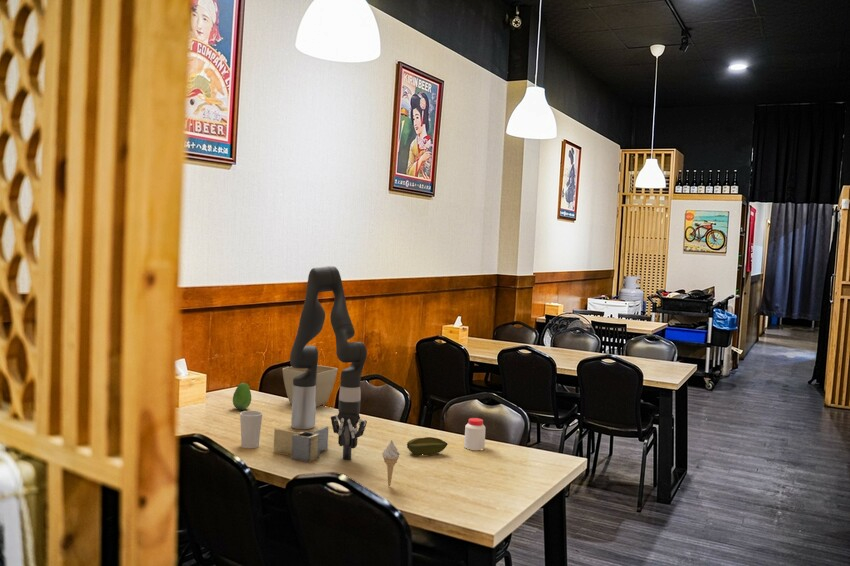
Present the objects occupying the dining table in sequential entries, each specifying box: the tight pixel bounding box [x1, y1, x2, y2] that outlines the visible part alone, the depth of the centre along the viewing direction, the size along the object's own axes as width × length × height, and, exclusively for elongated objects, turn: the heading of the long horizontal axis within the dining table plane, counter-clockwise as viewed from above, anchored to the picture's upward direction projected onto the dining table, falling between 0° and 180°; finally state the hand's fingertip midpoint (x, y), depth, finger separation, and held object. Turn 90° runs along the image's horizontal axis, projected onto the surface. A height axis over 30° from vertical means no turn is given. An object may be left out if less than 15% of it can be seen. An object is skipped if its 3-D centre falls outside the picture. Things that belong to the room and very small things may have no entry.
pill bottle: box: [463, 417, 486, 450], centre depth 268 cm, size 8×8×11 cm
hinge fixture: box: [273, 425, 329, 463], centre depth 251 cm, size 17×17×8 cm
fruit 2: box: [406, 436, 449, 456], centre depth 257 cm, size 11×12×7 cm
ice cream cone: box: [381, 439, 401, 487], centre depth 220 cm, size 6×6×15 cm
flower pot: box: [282, 364, 338, 408], centre depth 326 cm, size 19×19×17 cm
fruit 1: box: [232, 382, 252, 411], centre depth 309 cm, size 8×8×12 cm
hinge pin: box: [342, 425, 353, 461], centre depth 247 cm, size 3×3×12 cm
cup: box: [239, 410, 263, 449], centre depth 256 cm, size 8×8×12 cm
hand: (347, 446), depth 247 cm, fingers open, 4 cm apart
